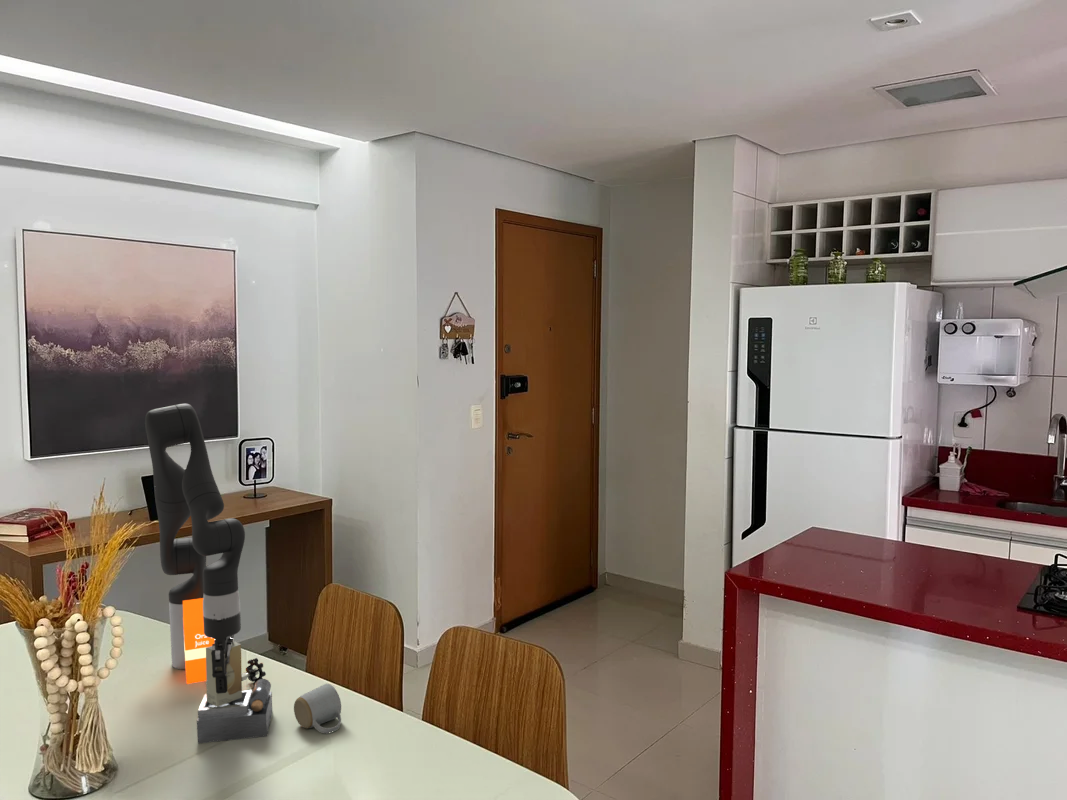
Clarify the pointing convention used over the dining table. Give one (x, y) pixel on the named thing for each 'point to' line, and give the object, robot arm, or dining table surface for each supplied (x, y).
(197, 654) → the orange juice
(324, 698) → the ceramic mug
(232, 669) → the skincare box
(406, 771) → the dining table surface
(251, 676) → the valve
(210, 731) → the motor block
